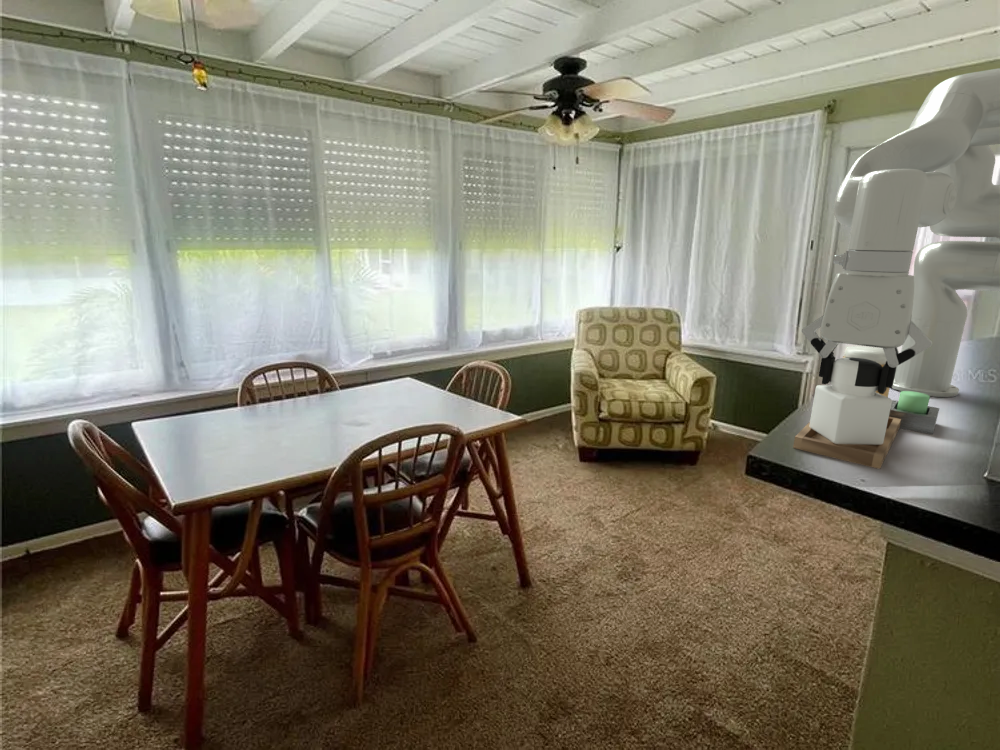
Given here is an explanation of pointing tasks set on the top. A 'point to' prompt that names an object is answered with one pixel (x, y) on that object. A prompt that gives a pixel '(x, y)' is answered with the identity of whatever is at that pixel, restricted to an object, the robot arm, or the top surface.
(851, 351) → the bottle
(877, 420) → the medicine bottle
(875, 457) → the wooden tray
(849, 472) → the top surface
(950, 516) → the top surface
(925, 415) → the button pedestal
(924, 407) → the button
